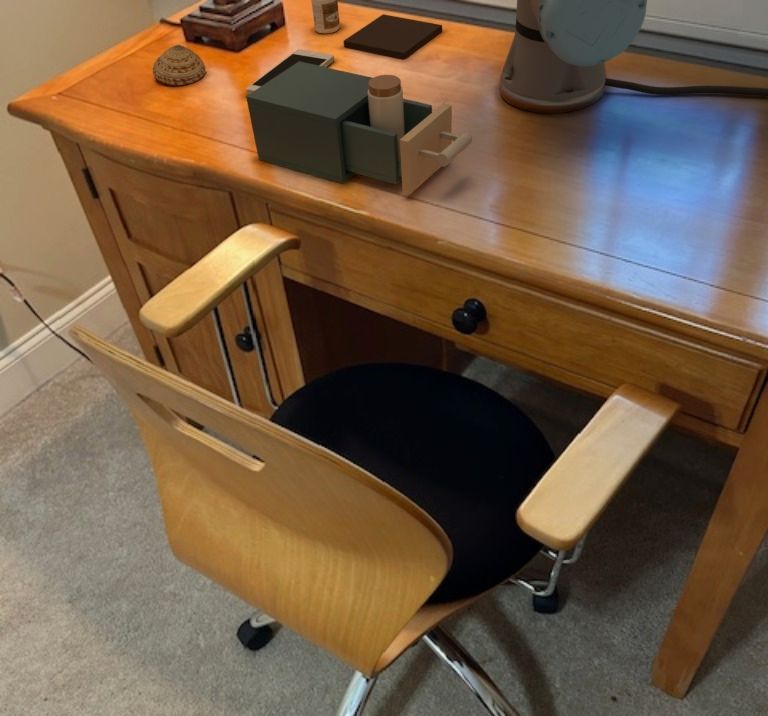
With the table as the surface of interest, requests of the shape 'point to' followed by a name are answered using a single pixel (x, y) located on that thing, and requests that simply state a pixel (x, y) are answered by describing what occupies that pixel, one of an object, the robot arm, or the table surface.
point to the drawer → (402, 145)
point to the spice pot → (387, 105)
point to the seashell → (178, 66)
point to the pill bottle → (326, 15)
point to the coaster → (393, 36)
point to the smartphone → (292, 59)
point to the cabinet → (306, 118)
